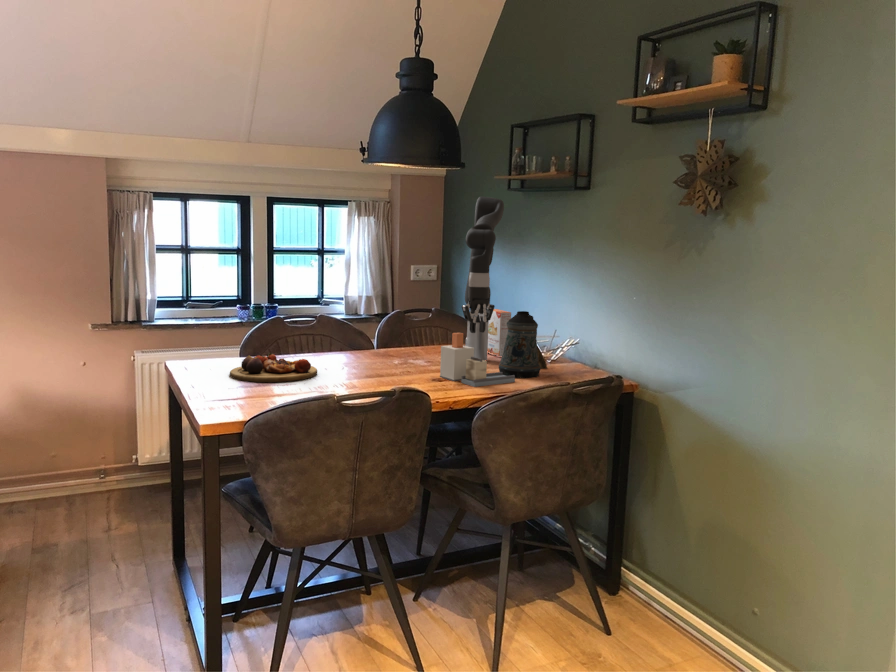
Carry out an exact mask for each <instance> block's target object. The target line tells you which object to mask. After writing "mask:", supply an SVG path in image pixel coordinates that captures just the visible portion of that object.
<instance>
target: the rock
mask: <svg viewBox="0 0 896 672" xmlns="http://www.w3.org/2000/svg"><path fill="white" fill-rule="evenodd" d="M540 349H541V348H539V346H538V345H537V353H538V361H539V365H540V368H541V369H542V370H544V369H548V365H547V362H546V361H547V360H546V359H545V357H544V356H543V353H542V351H541V350H540Z"/></svg>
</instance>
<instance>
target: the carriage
mask: <svg viewBox="0 0 896 672" xmlns="http://www.w3.org/2000/svg"><path fill="white" fill-rule="evenodd" d="M487 366H488V360H487V361H484V360H482V359H479V358H475V357H471V359H467V360H466V379H470V380H473V381H474V380H475V379H484V378H486V374H487V369H488V368H487Z"/></svg>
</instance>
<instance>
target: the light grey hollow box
mask: <svg viewBox="0 0 896 672" xmlns="http://www.w3.org/2000/svg"><path fill="white" fill-rule="evenodd" d="M471 357H474V348H472V347H468V346H466V345H464V344H463V348H454V347H452V344H451V345H449V344H448V345H441V346H440V369H439V370H440V371H439V378H442V379H445V380H448V381H452V382H459V381H460V382H461V380H462V376H466V360H467V359H471Z"/></svg>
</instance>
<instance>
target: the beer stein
mask: <svg viewBox="0 0 896 672" xmlns="http://www.w3.org/2000/svg"><path fill="white" fill-rule="evenodd" d="M538 326H539V324H538V323H537V321H536V320H535V319H534V316H533V315H531V314H530V312H529V311H526V310H523V311H520V310H518V311H517V312H516V313H515V315H514V316H511V319H510V320H509V321H508V322H507V328H508V332H507V337H506V342H505V347H504V351H503V355H502V358H500V361H499V364H498V370H499V371H498V372H503V375H505V376H511V375H515V379H533V378H538V377H539V375H540V371H541V369H542V368H540V365H539V361H538V353H537V346H538V342H537V336H538V328H539V327H538Z"/></svg>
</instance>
